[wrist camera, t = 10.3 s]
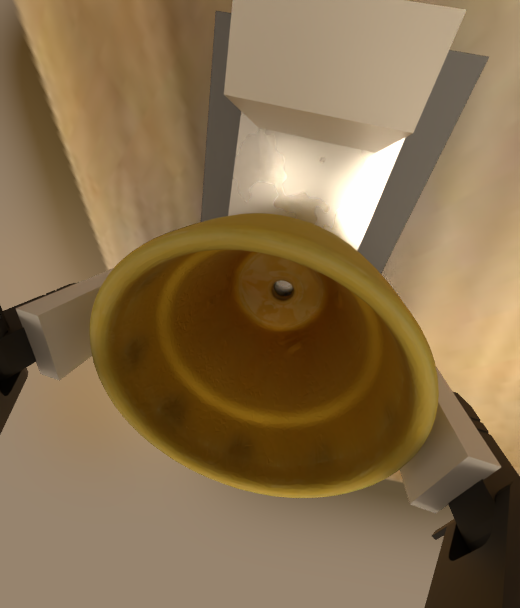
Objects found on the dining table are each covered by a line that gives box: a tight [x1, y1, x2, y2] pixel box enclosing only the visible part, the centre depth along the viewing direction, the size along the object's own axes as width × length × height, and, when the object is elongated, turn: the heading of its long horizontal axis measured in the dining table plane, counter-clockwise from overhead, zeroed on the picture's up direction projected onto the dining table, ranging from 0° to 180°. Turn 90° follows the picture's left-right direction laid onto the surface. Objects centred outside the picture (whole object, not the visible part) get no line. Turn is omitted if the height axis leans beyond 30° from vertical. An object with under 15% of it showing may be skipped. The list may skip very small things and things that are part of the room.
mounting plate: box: [201, 11, 489, 274], centre depth 17 cm, size 24×12×2 cm, turn 168°
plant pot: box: [89, 213, 439, 498], centre depth 11 cm, size 10×10×10 cm
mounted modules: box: [224, 0, 466, 153], centre depth 13 cm, size 21×6×5 cm, turn 168°
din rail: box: [228, 112, 405, 296], centre depth 16 cm, size 22×8×1 cm, turn 168°
